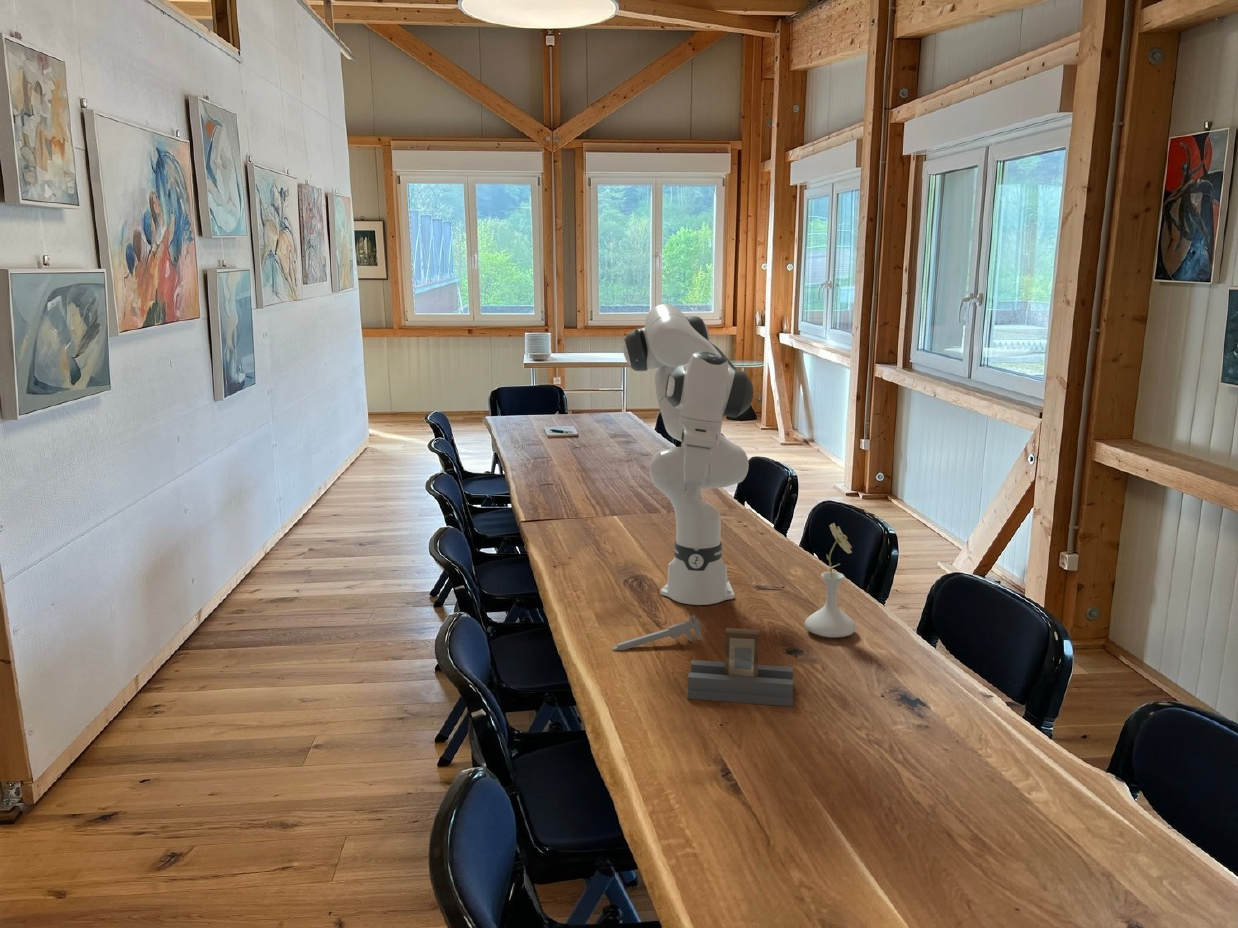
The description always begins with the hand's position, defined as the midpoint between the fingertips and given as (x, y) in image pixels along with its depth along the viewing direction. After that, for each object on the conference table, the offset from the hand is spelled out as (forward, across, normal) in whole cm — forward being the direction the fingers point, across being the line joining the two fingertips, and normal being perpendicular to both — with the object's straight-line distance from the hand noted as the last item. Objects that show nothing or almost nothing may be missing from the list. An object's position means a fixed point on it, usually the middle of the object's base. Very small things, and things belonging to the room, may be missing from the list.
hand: (688, 497), depth 187 cm
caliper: (+36, -7, -2) cm, 36 cm away
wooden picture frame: (+32, +15, +15) cm, 39 cm away
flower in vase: (+30, -17, +38) cm, 51 cm away
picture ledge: (+34, +15, +15) cm, 40 cm away
